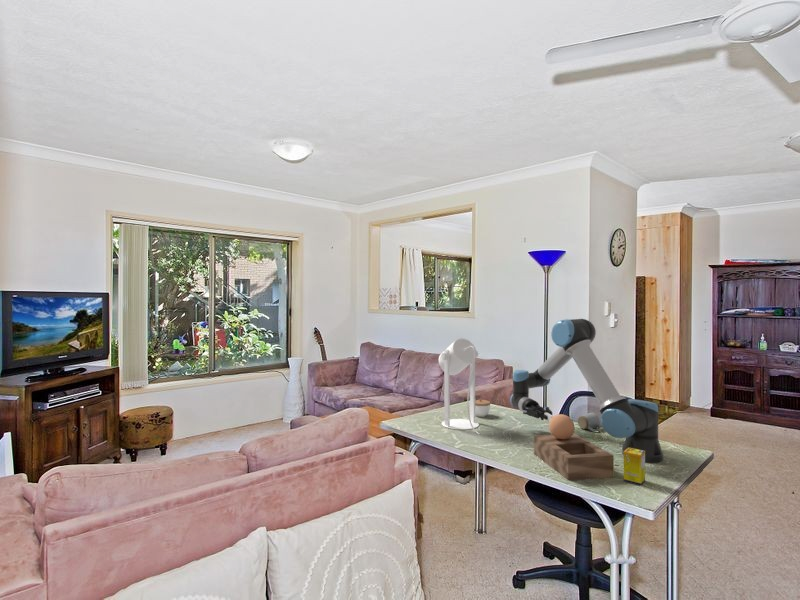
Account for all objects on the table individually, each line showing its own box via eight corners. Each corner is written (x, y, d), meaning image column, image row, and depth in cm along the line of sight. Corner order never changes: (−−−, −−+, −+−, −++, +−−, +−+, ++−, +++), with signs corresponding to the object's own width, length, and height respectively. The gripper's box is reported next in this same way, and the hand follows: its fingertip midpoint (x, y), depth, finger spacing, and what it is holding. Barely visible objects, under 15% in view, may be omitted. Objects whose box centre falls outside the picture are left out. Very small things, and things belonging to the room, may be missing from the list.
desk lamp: (462, 416, 258) (462, 335, 258) (499, 431, 230) (499, 340, 230) (430, 421, 249) (429, 337, 248) (465, 437, 220) (464, 342, 220)
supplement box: (627, 476, 172) (627, 447, 172) (645, 480, 168) (645, 450, 168) (622, 481, 168) (622, 451, 168) (641, 485, 164) (641, 454, 164)
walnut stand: (534, 454, 197) (534, 435, 197) (573, 451, 199) (573, 433, 199) (568, 480, 169) (568, 458, 169) (613, 476, 172) (613, 455, 172)
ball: (574, 436, 194) (574, 412, 194) (574, 443, 185) (574, 418, 185) (549, 434, 198) (549, 410, 198) (548, 441, 189) (548, 416, 189)
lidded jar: (469, 413, 265) (469, 396, 265) (487, 412, 266) (487, 396, 266) (473, 418, 255) (473, 401, 255) (492, 417, 255) (492, 400, 255)
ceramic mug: (576, 427, 235) (576, 412, 235) (588, 425, 239) (588, 411, 239) (592, 433, 226) (592, 418, 226) (605, 431, 229) (605, 416, 229)
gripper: (541, 413, 223) (567, 427, 200) (516, 415, 221) (538, 429, 198) (541, 398, 223) (567, 410, 200) (516, 399, 221) (538, 411, 198)
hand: (552, 419), depth 199 cm, fingers closed
